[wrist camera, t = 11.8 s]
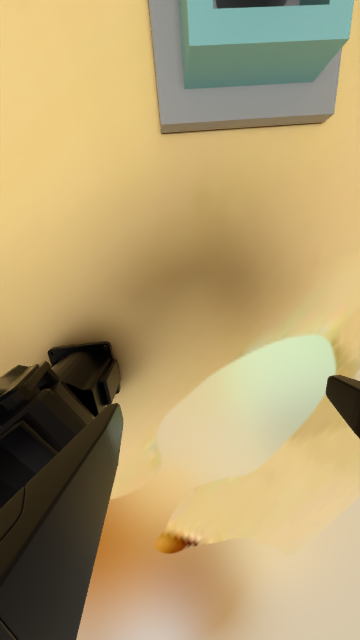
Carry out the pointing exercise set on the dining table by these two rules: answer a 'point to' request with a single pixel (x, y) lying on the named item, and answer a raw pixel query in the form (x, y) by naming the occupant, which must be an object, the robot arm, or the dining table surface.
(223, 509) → the dining table surface
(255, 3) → the plug
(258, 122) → the socket
